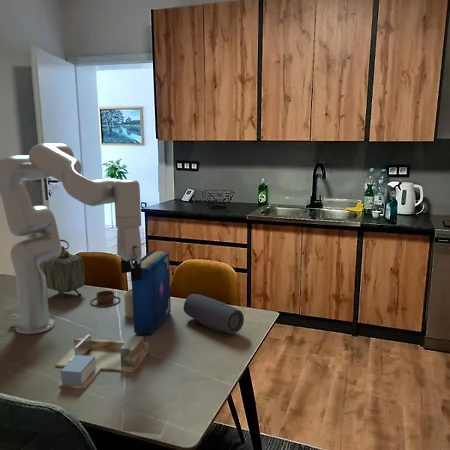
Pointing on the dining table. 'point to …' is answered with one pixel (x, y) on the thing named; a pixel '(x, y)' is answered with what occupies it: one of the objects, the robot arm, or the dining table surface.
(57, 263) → the tabletop clock
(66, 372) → the blue-grey rectangular block
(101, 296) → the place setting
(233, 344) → the dining table surface
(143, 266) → the blue volume
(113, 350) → the wooden platform
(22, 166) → the robot arm
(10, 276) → the dining table surface
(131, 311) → the candle
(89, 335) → the bookend
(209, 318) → the bluetooth speaker
